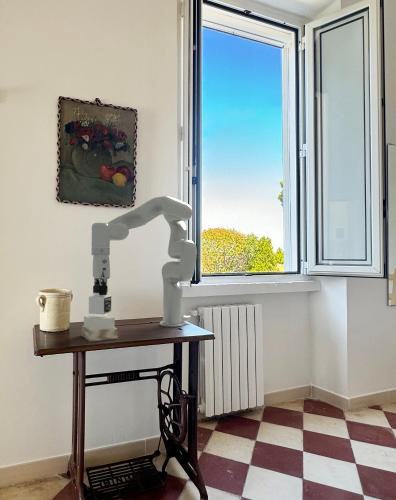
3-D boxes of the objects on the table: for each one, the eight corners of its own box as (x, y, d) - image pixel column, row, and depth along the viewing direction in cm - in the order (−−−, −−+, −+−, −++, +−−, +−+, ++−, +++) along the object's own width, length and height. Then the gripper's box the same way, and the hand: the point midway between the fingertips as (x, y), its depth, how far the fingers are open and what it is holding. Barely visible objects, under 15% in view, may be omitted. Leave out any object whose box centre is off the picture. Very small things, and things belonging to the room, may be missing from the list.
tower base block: (108, 334, 172) (108, 324, 172) (117, 339, 162) (118, 328, 162) (81, 336, 166) (81, 326, 166) (89, 342, 156) (89, 331, 156)
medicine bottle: (104, 314, 160) (104, 285, 160) (88, 313, 161) (88, 285, 161) (111, 311, 167) (111, 284, 167) (96, 311, 168) (96, 283, 168)
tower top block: (106, 324, 171) (106, 314, 171) (114, 328, 163) (114, 317, 163) (83, 326, 165) (83, 316, 165) (91, 330, 157) (91, 319, 157)
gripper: (116, 252, 158) (115, 295, 158) (102, 251, 173) (102, 291, 173) (98, 252, 154) (97, 296, 155) (86, 251, 169) (85, 292, 169)
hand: (100, 293), depth 164 cm, fingers closed on medicine bottle, 6 cm apart
